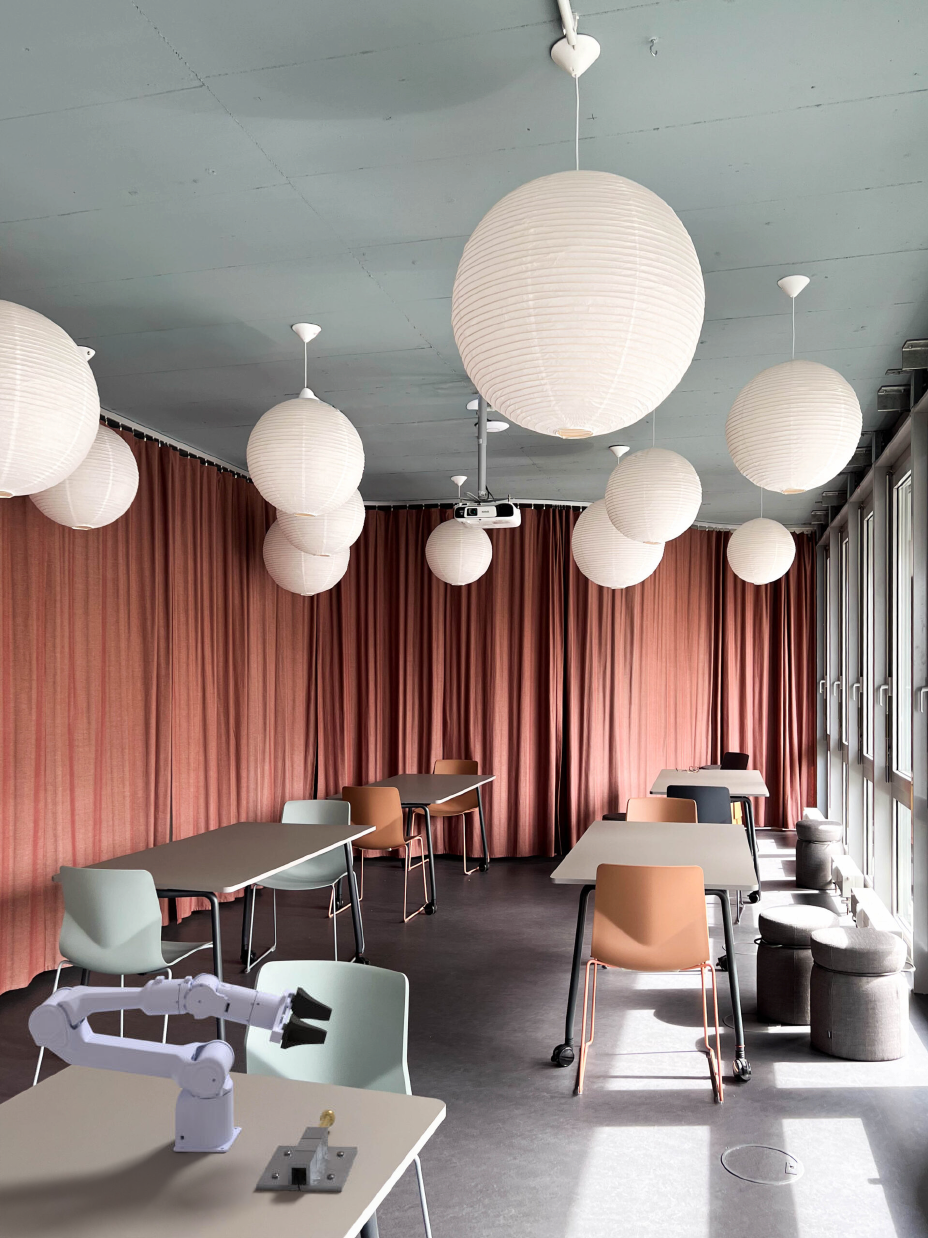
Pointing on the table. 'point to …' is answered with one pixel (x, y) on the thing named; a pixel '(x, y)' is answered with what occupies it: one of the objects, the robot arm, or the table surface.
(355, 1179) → the table surface
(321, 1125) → the pin
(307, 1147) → the hinge
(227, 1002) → the robot arm
